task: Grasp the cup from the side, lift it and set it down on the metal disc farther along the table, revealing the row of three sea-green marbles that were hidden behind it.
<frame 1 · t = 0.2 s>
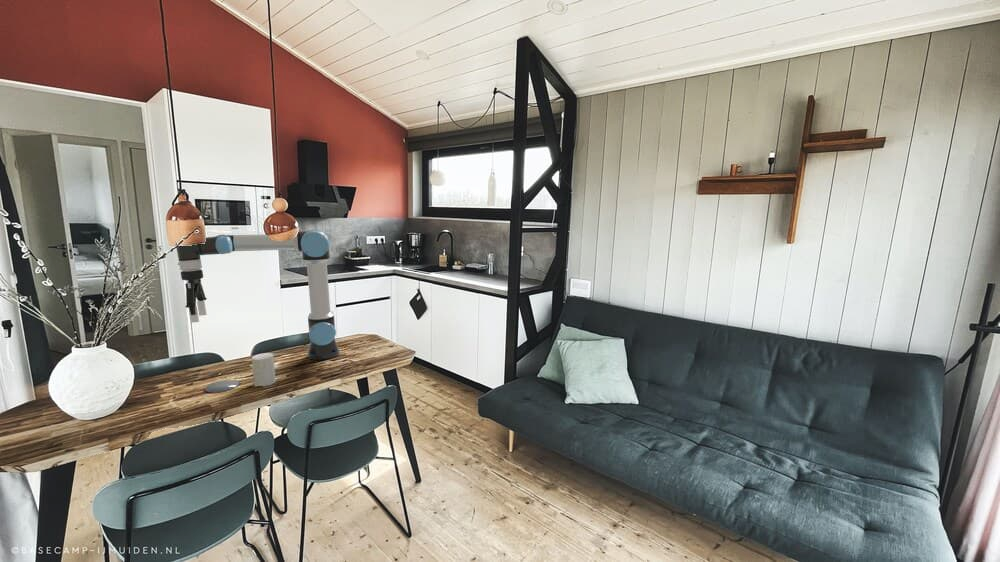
hand: (199, 318, 181), 27 cm above the table, tool pointing down, fingers open, 13 cm apart
marble 1: (264, 375, 190), on the table
cup: (265, 383, 182), on the table
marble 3: (264, 370, 196), on the table
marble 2: (264, 372, 193), on the table
metal disc: (222, 386, 177), on the table
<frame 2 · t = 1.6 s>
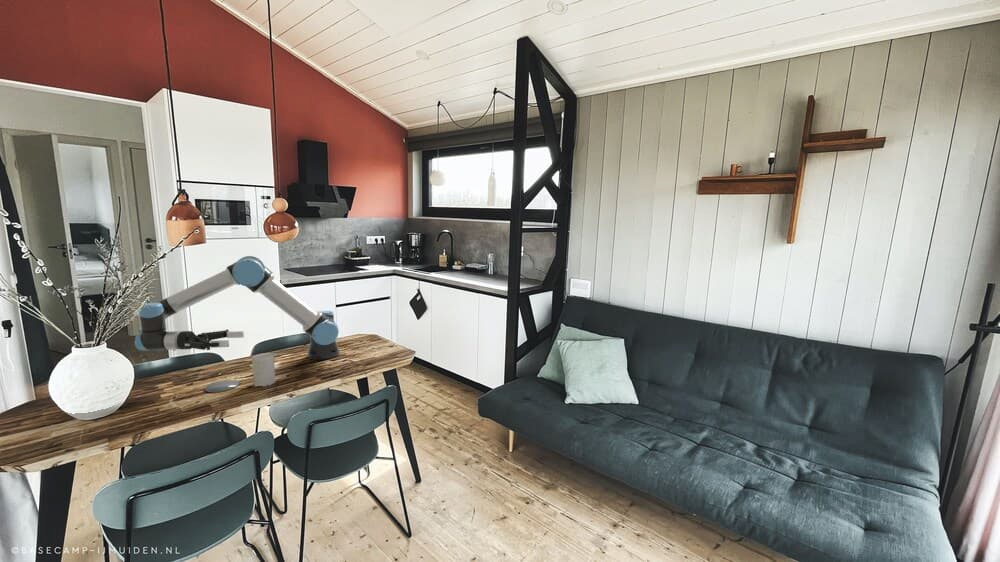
hand: (236, 338, 177), 20 cm above the table, tool horizontal, fingers open, 13 cm apart
nothing on the table moved.
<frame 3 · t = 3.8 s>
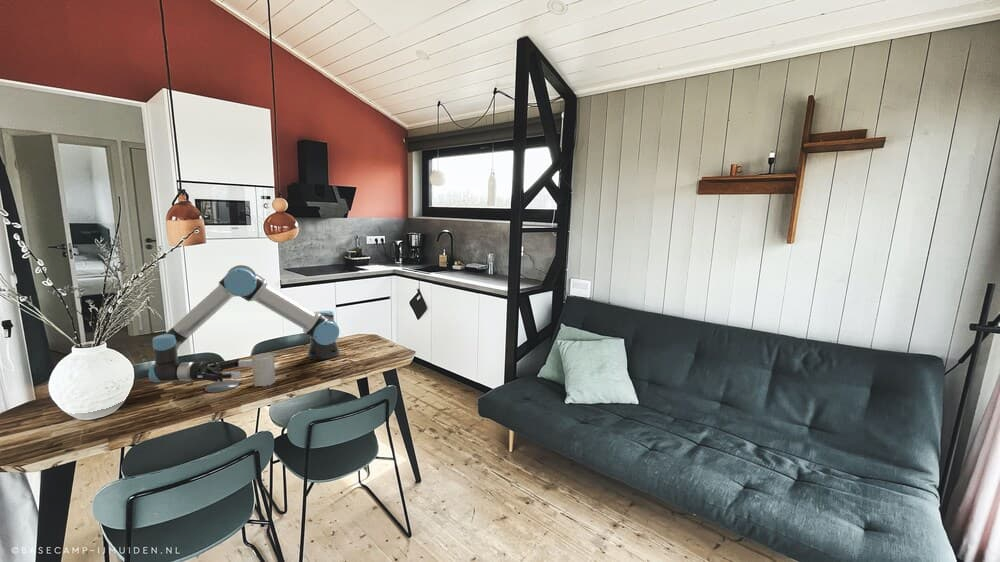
hand: (248, 368, 179), 7 cm above the table, tool horizontal, fingers open, 13 cm apart
nothing on the table moved.
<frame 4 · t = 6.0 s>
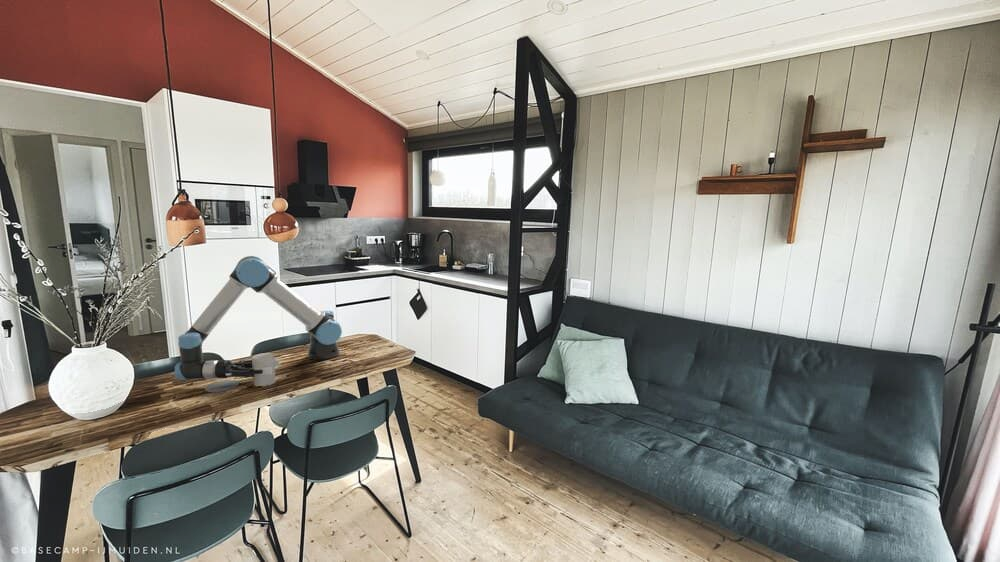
hand: (275, 366, 181), 7 cm above the table, tool horizontal, fingers closed on cup, 8 cm apart
cup: (265, 383, 182), on the table, touching gripper
everything else where it was.
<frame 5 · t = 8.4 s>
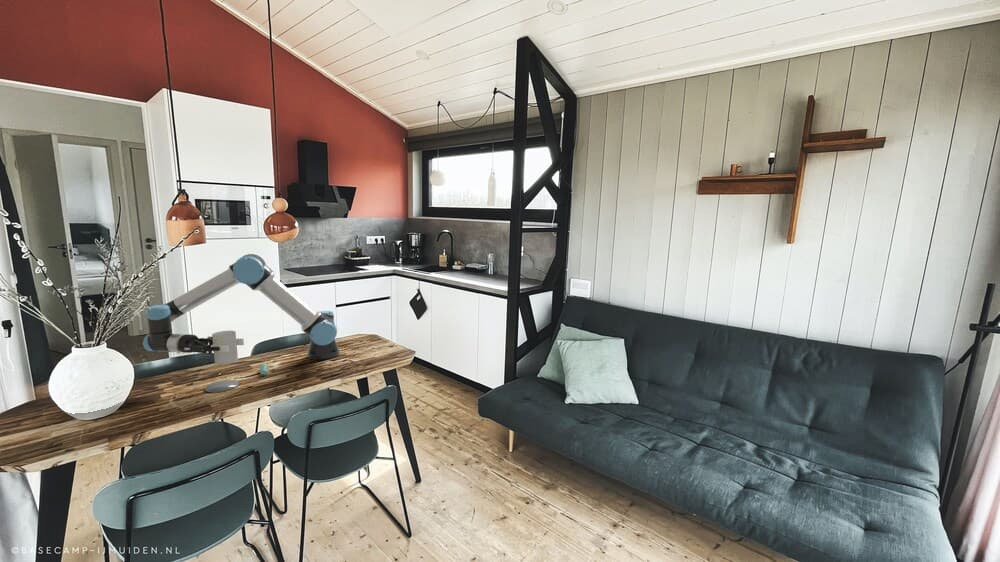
hand: (235, 345, 174), 18 cm above the table, tool horizontal, fingers closed on cup, 8 cm apart
cup: (226, 361, 175), point 11 cm above the table, touching gripper
everything else where it was.
when the fingers open (9 cm above the table, at t = 10.8 s): cup drops 1 cm, resting on metal disc.
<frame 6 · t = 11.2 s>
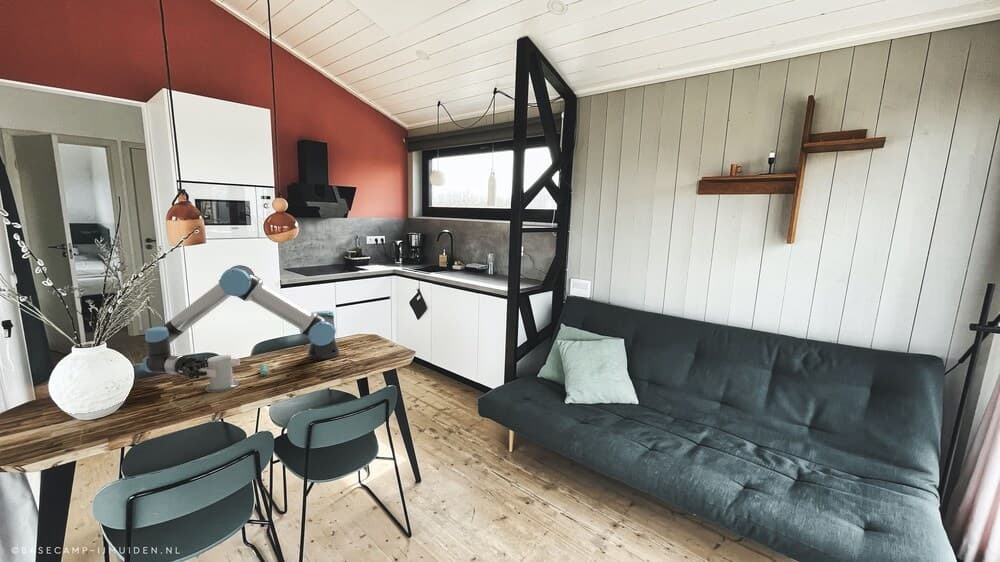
hand: (227, 367, 175), 9 cm above the table, tool horizontal, fingers open, 13 cm apart
cup: (222, 385, 177), resting on metal disc
everything else where it was.
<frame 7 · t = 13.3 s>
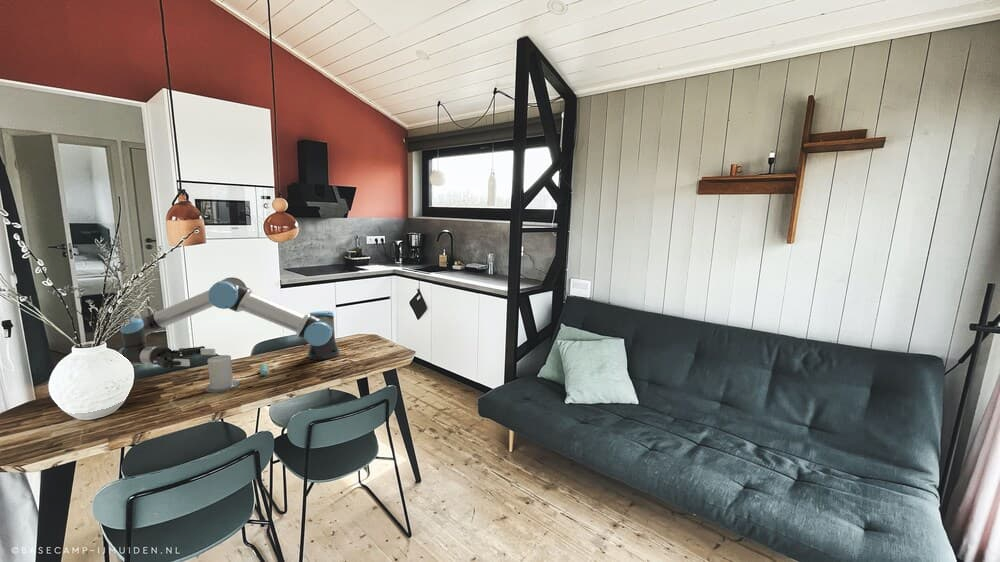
hand: (202, 357, 177), 12 cm above the table, tool horizontal, fingers open, 13 cm apart
nothing on the table moved.
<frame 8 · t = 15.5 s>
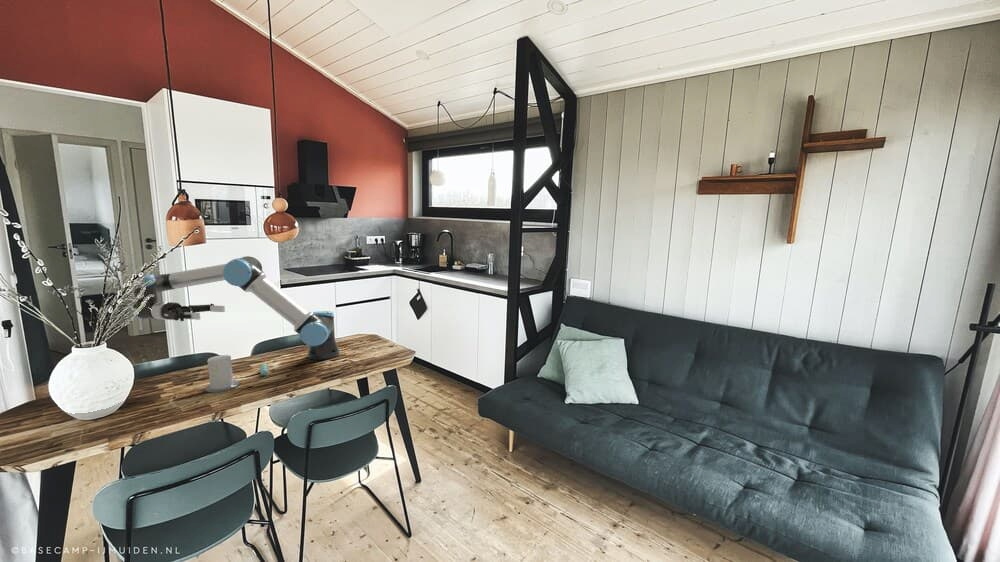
hand: (212, 312, 181), 30 cm above the table, tool horizontal, fingers open, 13 cm apart
nothing on the table moved.
at the end: cup inside the target area on the metal disc (0.1 cm from its centre), point 0.4 cm above the metal disc's base; cup tilted 0°; the gripper is holding nothing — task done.
